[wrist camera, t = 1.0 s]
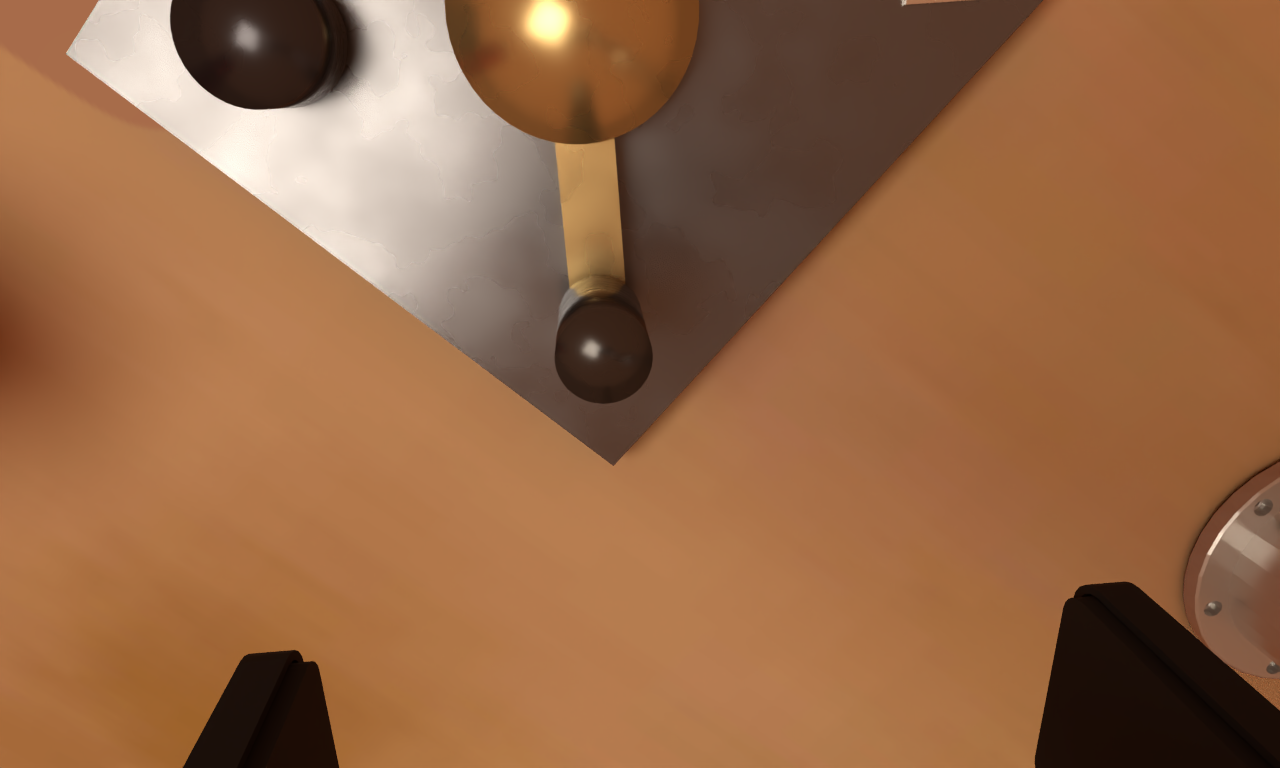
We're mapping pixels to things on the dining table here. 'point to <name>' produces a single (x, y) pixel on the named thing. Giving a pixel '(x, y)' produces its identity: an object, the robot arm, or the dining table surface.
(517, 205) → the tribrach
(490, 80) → the crank dial
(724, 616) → the dining table surface
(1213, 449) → the dining table surface
